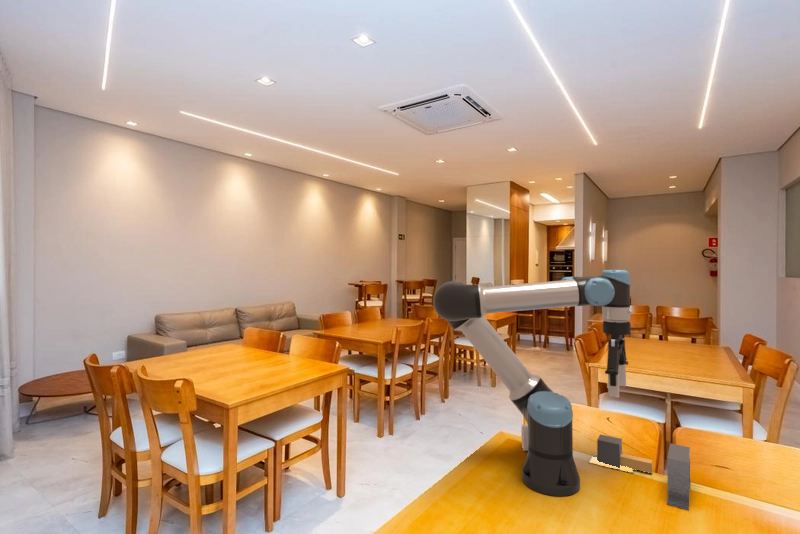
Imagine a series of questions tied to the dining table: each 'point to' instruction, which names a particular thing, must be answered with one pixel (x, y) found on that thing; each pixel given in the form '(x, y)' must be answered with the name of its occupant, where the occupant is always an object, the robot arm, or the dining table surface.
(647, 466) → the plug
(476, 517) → the dining table surface
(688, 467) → the housing
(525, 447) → the mug
